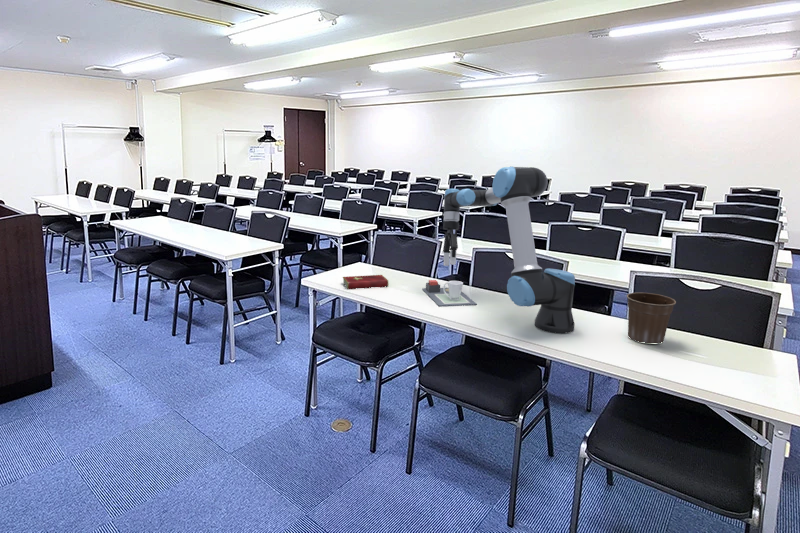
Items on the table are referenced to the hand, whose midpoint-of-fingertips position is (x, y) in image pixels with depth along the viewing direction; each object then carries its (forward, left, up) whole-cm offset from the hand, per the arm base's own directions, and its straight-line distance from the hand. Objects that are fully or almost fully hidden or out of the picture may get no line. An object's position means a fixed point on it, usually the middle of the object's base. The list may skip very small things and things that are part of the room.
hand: (449, 265), depth 230 cm
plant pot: (-68, -55, -14) cm, 89 cm away
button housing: (+4, +7, -14) cm, 16 cm away
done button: (+4, +7, -12) cm, 14 cm away
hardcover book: (+20, +38, -15) cm, 45 cm away
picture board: (-5, +2, -14) cm, 15 cm away
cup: (-11, +2, -14) cm, 17 cm away
